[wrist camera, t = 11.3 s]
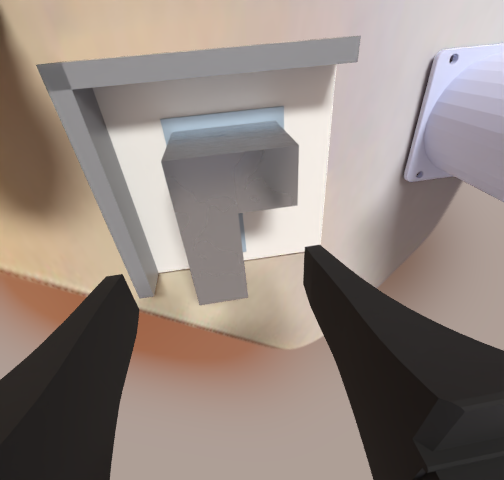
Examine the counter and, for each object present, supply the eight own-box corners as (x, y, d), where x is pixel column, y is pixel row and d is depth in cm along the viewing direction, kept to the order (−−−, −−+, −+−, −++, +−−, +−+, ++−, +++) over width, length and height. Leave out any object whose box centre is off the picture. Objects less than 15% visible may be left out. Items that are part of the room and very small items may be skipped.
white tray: (334, 37, 15) (360, 35, 13) (317, 245, 23) (331, 269, 21) (66, 61, 14) (36, 64, 12) (146, 269, 22) (139, 298, 20)
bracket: (278, 243, 22) (295, 290, 17) (200, 255, 21) (199, 305, 17) (275, 120, 16) (298, 145, 12) (171, 131, 16) (161, 161, 12)
